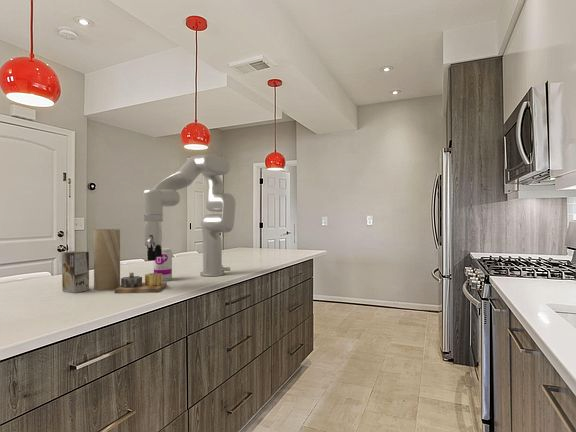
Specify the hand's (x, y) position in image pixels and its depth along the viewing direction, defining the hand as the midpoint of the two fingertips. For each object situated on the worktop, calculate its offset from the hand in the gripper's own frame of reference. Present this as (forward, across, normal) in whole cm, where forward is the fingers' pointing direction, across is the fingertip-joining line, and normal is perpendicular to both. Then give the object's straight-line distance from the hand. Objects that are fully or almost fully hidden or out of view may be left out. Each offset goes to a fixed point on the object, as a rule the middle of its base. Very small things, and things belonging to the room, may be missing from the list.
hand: (155, 258), depth 153 cm
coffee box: (+12, +2, -32) cm, 34 cm away
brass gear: (+11, +1, -1) cm, 11 cm away
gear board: (+12, +2, -5) cm, 14 cm away
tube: (+12, -2, -21) cm, 24 cm away
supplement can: (+13, -19, -2) cm, 23 cm away
